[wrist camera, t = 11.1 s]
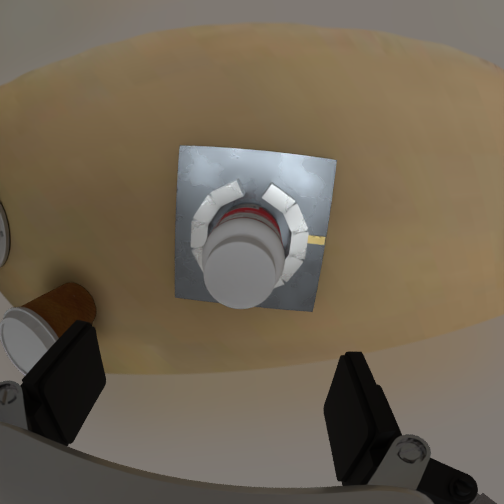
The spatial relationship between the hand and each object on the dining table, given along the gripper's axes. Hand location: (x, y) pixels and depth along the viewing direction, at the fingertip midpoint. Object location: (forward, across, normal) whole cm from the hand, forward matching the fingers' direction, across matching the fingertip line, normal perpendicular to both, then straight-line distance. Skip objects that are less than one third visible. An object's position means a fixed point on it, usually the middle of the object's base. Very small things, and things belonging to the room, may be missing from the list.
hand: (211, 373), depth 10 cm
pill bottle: (+21, -1, 0) cm, 21 cm away
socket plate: (+22, -1, 0) cm, 22 cm away
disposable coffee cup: (+22, +21, +12) cm, 33 cm away
